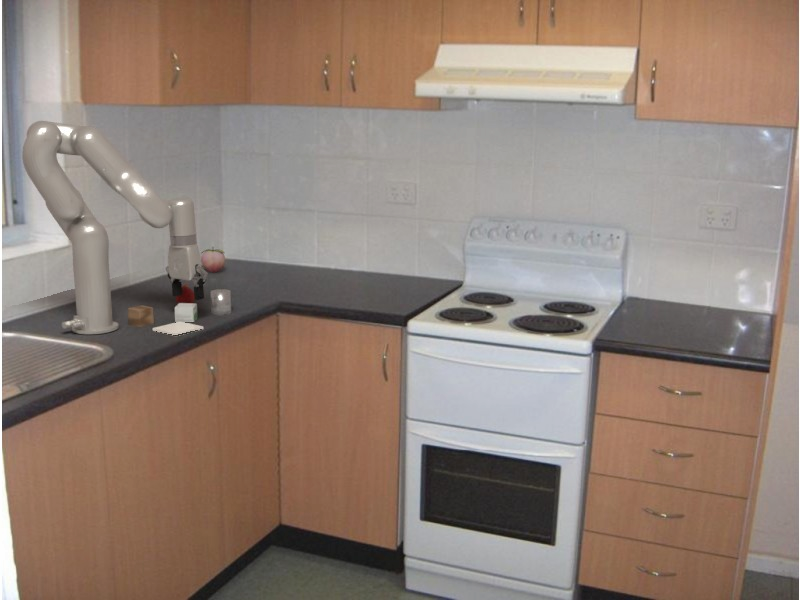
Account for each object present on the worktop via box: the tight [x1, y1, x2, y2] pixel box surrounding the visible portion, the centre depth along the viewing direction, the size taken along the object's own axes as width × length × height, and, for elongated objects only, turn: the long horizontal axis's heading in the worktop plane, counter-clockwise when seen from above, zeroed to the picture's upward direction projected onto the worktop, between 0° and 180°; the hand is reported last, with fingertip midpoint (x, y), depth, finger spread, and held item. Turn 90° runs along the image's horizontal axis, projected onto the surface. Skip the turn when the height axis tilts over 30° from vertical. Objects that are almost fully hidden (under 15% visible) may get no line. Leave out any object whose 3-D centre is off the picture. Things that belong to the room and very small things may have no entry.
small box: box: [174, 302, 198, 323], centre depth 262 cm, size 6×6×5 cm
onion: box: [175, 283, 196, 305], centre depth 276 cm, size 6×6×8 cm
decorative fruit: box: [200, 246, 226, 273], centre depth 337 cm, size 9×8×10 cm
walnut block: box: [127, 305, 155, 328], centre depth 257 cm, size 5×5×5 cm
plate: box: [152, 321, 204, 336], centre depth 251 cm, size 10×10×1 cm
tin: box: [210, 288, 232, 316], centre depth 271 cm, size 6×6×7 cm
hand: (188, 297), depth 261 cm, fingers open, 9 cm apart
